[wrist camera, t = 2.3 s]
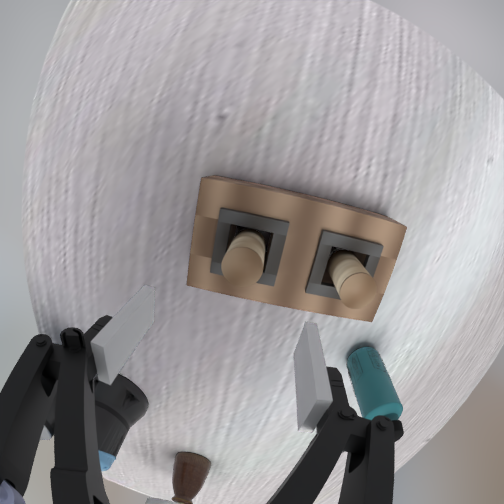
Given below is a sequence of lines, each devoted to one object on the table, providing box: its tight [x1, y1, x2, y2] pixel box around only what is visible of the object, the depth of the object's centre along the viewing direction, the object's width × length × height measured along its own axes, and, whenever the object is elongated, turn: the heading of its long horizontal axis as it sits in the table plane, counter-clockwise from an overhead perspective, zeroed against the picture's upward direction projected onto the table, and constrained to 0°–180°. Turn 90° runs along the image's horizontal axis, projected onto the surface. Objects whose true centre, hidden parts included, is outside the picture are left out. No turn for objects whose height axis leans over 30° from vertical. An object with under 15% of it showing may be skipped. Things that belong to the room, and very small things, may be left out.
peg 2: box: [327, 250, 377, 309], centre depth 29 cm, size 4×4×8 cm
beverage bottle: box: [346, 347, 404, 442], centre depth 35 cm, size 6×7×20 cm
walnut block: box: [187, 175, 407, 322], centre depth 35 cm, size 26×14×8 cm, turn 79°
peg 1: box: [221, 229, 266, 287], centre depth 30 cm, size 4×4×8 cm
